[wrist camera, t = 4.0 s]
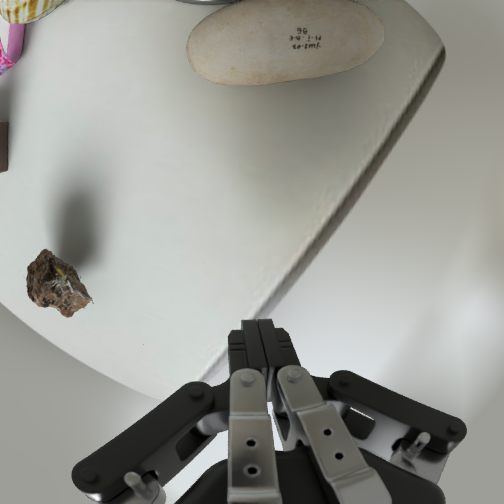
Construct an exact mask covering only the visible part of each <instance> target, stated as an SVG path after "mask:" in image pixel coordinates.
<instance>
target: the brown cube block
mask: <svg viewBox="0 0 504 504" xmlns="http://www.w3.org/2000/svg"><path fill="white" fill-rule="evenodd" d="M7 140H8V122H0V173H2V172H5V171H7V170H8V166H7Z"/></svg>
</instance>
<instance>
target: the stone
mask: <svg viewBox="0 0 504 504" xmlns="http://www.w3.org/2000/svg"><path fill="white" fill-rule="evenodd" d="M384 39H385V29H384V26H383V24H382V22H381V20H380V19H379V18H378V17H377V16H376V15H375V14H374V13H373V12H372V11H371V10H369V9H368V8H366V7H365V6H363V5H360V4H358V3H355V2H352V1H347V0H245V1H241V2H238V3H235V4H232V5H229V6H227V7H224V8H222V9H220V10H218V11H216V12H214V13H212V14H210V15H209V16H207V17H206V18H204V19H203V20H202V21H201V22H200V23H199V24H198V25H197V26H196V27H195V28H194V29H193V30H192V32H191V34H190V36H189V38H188V42H187V47H186V49H187V56H188V59H189V62H190V64H191V66H192V68H193V69H194V71H195V72H196V73H197V74H198V75H199V76H201V77H203V78H205V79H207V80H209V81H212V82H215V83H218V84H223V85H233V86H254V85H263V84H272V83H278V82H286V81H293V80H300V79H307V78H316V77H322V76H326V75H330V74H335V73H340V72H343V71H346V70H349V69H352V68H354V67H356V66H359V65H361V64H363V63H364V62H366V61H367V60H369V59H370V58H371V57H372V56H373V55H374V54H375V53H376V52H377V51H378V50H379V48H380V47H381V46H382V44H383V42H384Z"/></svg>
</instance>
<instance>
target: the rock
mask: <svg viewBox="0 0 504 504" xmlns="http://www.w3.org/2000/svg"><path fill="white" fill-rule="evenodd" d="M27 271H28V275H27V278H26V280H27V289H28V290H27V292H28V296H29V298H30V299H31V300H32V301H33V302H34V303H35V304H36V305H37V306H38V307H44V308H46V307H53V308H56V309H57V310H58V311H60V313H61V314H62V315H63V316H65V317H67V318H68V317H72V315H73V314H74V312H76V311H78V310H79V309H81V308H84V307H85V306H86V305H87V303H89V302H90V301H92V303H93V300H92V298H91V297H90V296H89V294H88V293H87V290H86V288H85V286H84V285H83V284H82V283H81V282H80V279H79V277H78V275H77V272H76V271H75V270H74V269H73V267H72V266H70V265H69V264H66V263H65V262H64V261H62V260H61V259H58V258H57V257H55V255H53V254H52V252H51V251H48V250H47V249H44V250H42V251H41V252H40V254H39V255H38V256H37V258H36V259H35V261H34V262H32V263H31V264H30V265H29V266H28V268H27ZM80 278H81V276H80ZM93 304H94V303H93ZM84 309H85V308H84ZM143 345H144V344H143Z"/></svg>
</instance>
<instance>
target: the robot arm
mask: <svg viewBox="0 0 504 504" xmlns="http://www.w3.org/2000/svg"><path fill="white" fill-rule="evenodd" d="M176 1H180V2H184V3H190V4H200V5H216V4H226V3H232V2H237V1H241V0H176ZM228 360H229V373H230V377H229V378H228V380H227V381H226V382H224V383H222V384H220V385H217V386H214V387H211V386H210V385H208V384H206V383H204V382H198V381H195V382H189V383H187V384H185V385H183V386H182V387H181V388H180V389H178V390H177V391H176V392H175V393H173V394H172V395H171V396H170V397H168V398H167V399H166V400H165V401H163V402H162V403H161V404H159V405H158V406H157V407H156V408H154V409H153V410H152V411H150V412H149V413H148V414H146V415H145V416H144V417H143V418H141V419H140V420H138V421H137V422H136V423H134V424H133V425H132V426H130V427H129V428H128V429H126V430H125V431H124V432H122V433H121V434H119V435H118V436H117V437H115V438H114V439H112V440H111V441H110V442H108V443H107V444H105V445H104V446H102V447H101V448H99V449H98V450H97V451H95V452H94V453H92V454H91V455H89V456H88V457H86V458H85V459H83V460H82V461H80V462H79V463H77V464H76V465H75V466H74V468H73V470H72V480H73V483H74V484H75V486H76V487H77V488H78V489H79V490H81V491H82V492H83V493H84V494H85V495H86V496H87V497H88V498H90V499H91V500H92V501H94V502H95V503H96V504H164V503H165V501H166V494H165V491H164V490H163V488H162V487H163V486H164V485H165V484H167V483H168V482H169V481H170V480H171V479H172V478H173V477H174V476H176V474H178V473H179V472H180V471H181V470H182V469H183V468H184V467H185V466H186V465H187V464H189V463H190V462H191V461H192V460H193V459H194V458H195V457H196V456H197V455H198V454H199V453H200V452H201V451H202V450H203V449H204V448H205V447H206V446H207V445H208V444H209V443H210V442H211V441H212V440H213V439H214V438H215V437H216V436H217V433H219V432H223V431H226V430H228V459H225V460H222V461H220V462H218V463H216V464H214V465H213V466H211V467H210V468H209V469H207V470H206V471H205V472H204V473H203V474H202V475H201V477H200V478H199V479H198V480H197V481H196V482H195V483H194V484H193V485H192V486H191V487H190V488H189V489H188V490H187V491H186V492H185V493H184V494H183V496H181V497H180V498H179V499H178V500H177V501H176V502H175V503H174V504H446V501H445V496H444V493H443V491H442V490H441V488H440V487H439V486H438V485H437V483H438V481H439V478H440V476H441V474H442V472H443V469H444V467H445V464H446V462H447V459H448V456H449V454H450V453H451V452H452V451H453V449H454V448H455V447H456V446H457V445H458V444H459V443H460V442H461V441H462V440H463V439H464V438H465V436H466V433H467V428H466V425H465V423H464V422H463V421H462V420H461V419H459V418H457V417H454V416H451V415H449V414H446V413H444V412H441V411H439V410H436V409H434V408H431V407H429V406H426V405H424V404H421V403H419V402H417V401H414V400H412V399H409V398H407V397H405V396H403V395H400V394H398V393H396V392H393V391H391V390H389V389H387V388H385V387H382V386H380V385H378V384H376V383H374V382H372V381H370V380H367V379H365V378H363V377H361V376H359V375H357V374H355V373H353V372H351V371H347V370H340V371H336V372H334V373H333V374H332V375H331V376H330V378H323V377H315V376H312V375H310V373H309V372H308V371H307V370H306V369H305V368H303V367H301V364H300V362H299V359H298V357H297V354H296V352H295V349H294V347H293V344H292V342H291V339H290V336H289V334H288V333H287V332H286V331H285V330H284V329H283V328H275V327H274V324H273V321H272V319H257V321H256V319H254V320H241V330H231V332H230V334H229V335H228ZM267 402H272V405H273V410H272V415H273V419H274V422H275V425H276V428H277V431H278V434H279V437H280V440H281V442H282V446H283V451H276V450H275V448H274V440H273V431H272V423H271V417H270V415H269V414H268V408H267ZM351 407H352V408H354V409H356V410H358V411H359V412H361V413H363V414H365V415H368V416H369V417H371V418H373V419H374V420H372V419H370V418H368V417H366V416H363V415H362V414H360V413H358V412H356V411H354V410H352V409H350V408H351ZM372 453H373V454H372ZM374 454H375V455H374ZM376 455H377V456H376ZM378 456H380V457H381V458H380V457H378ZM382 458H384V459H386V460H388V461H390V462H388V461H386V460H384V459H382Z"/></svg>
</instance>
